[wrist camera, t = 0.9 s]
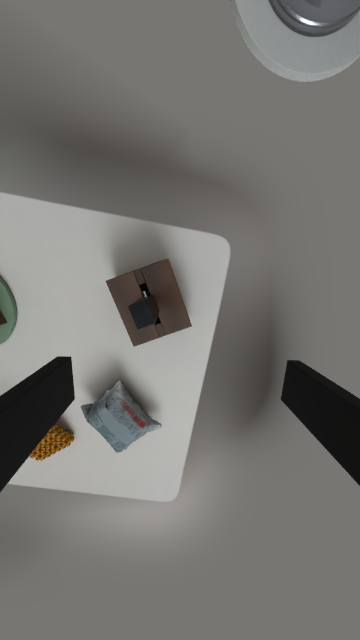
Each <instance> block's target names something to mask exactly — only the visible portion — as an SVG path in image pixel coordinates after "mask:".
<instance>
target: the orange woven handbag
mask: <svg viewBox="0 0 360 640" xmlns="http://www.w3.org/2000/svg"><path fill="white" fill-rule="evenodd" d="M58 427H59V425H55V426H54V425H53V427H52V428H51V429H50V430H49V432H48V433H47V434H46V435H45V437H44V438H43V439H42V440H41V442H40V443H39V444H38V445H37V447H36V448H35V449H34V450H33V452H32V453H31V454H30V455H29V456H31V457H30V458H34V457H35V458H36V460H37V461H38V460H44V459H45V457H46V458H47V457H50V455H51V454H52V455H53V454H55V452H56V451H57V452H58V451H60V450H61V448H62V449H64V448H65V447H66V446H67V447H68V446H70V443H71V441H73V440H74V436H73V434H68V432H69V431H63V429H64V428H58ZM60 447H61V448H60Z"/></svg>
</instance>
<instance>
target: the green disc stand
mask: <svg viewBox="0 0 360 640" xmlns="http://www.w3.org/2000/svg"><path fill="white" fill-rule="evenodd" d="M16 320H17V308H16V303H15V300H14V297H13V294H12V292H11V290H10V289H9V287H8V285H7V284H6V283H5V282H4V280H3V279H2V278H1V277H0V344H2V343H3V342H4V341H6V340H7V339H8V337H9V336H10V335H11V333H12V332H13V330H14V327H15V324H16Z"/></svg>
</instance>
